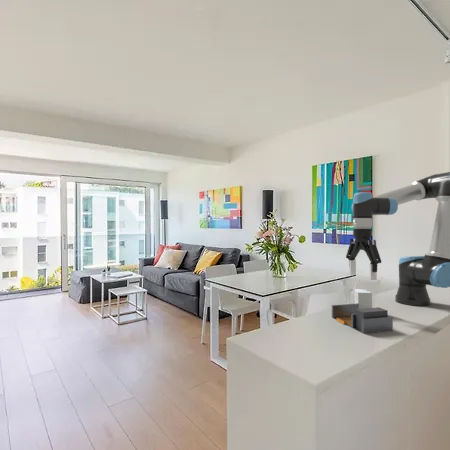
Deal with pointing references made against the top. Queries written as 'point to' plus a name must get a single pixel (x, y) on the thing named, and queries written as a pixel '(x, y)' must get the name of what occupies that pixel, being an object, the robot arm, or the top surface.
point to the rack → (369, 325)
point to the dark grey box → (368, 315)
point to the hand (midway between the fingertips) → (362, 277)
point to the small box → (363, 298)
